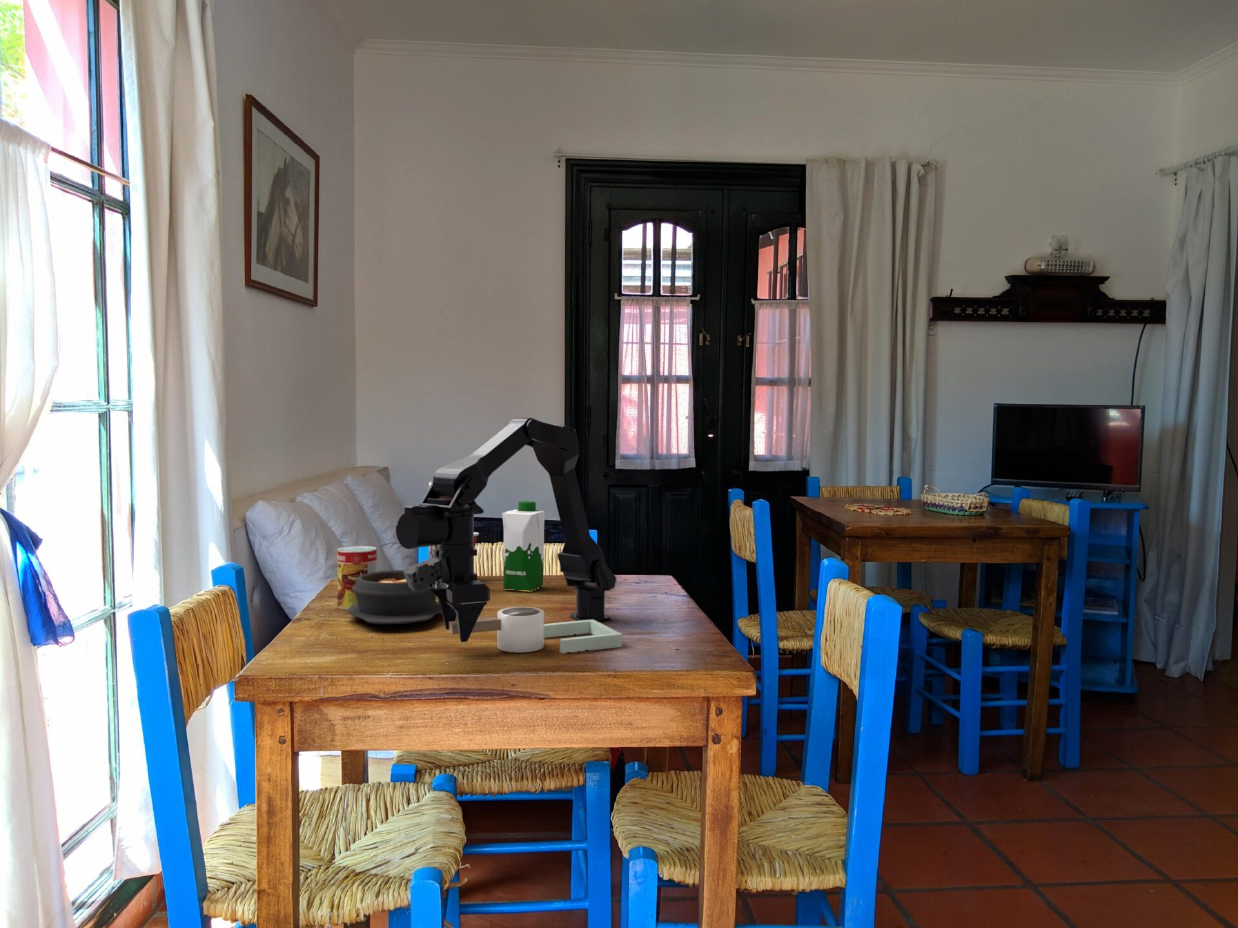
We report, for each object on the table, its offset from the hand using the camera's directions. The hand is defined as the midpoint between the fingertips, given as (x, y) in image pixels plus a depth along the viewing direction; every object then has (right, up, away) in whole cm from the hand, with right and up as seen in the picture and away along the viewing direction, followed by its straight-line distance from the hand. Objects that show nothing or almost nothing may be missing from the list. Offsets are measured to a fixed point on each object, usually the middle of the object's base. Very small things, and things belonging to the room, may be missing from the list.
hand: (456, 635), depth 149 cm
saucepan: (+6, -3, +3) cm, 8 cm away
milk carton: (+5, -1, +58) cm, 58 cm away
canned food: (-28, -1, +38) cm, 47 cm away
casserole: (-17, -2, +27) cm, 31 cm away
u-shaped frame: (+19, -3, +9) cm, 22 cm away
